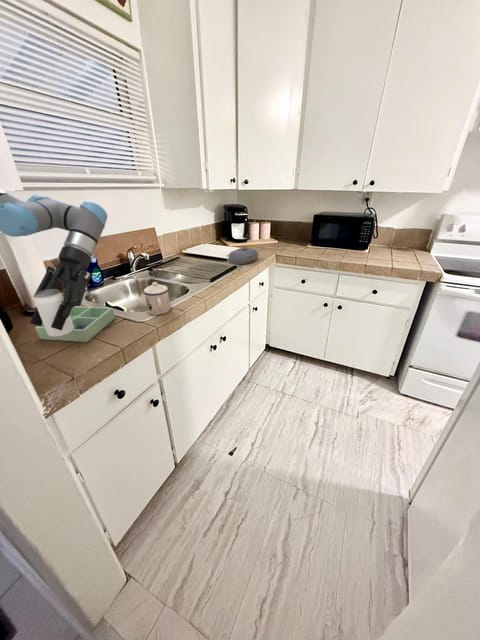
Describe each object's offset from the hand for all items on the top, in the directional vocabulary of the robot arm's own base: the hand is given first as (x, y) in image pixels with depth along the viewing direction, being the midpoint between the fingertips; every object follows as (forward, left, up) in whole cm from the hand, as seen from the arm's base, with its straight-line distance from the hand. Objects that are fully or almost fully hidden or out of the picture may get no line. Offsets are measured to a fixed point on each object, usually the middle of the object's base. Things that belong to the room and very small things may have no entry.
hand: (45, 326), depth 70 cm
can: (+1, +4, -4) cm, 5 cm away
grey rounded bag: (+43, +112, -11) cm, 120 cm away
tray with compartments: (-6, +18, -11) cm, 22 cm away
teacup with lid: (+17, +34, -11) cm, 39 cm away
